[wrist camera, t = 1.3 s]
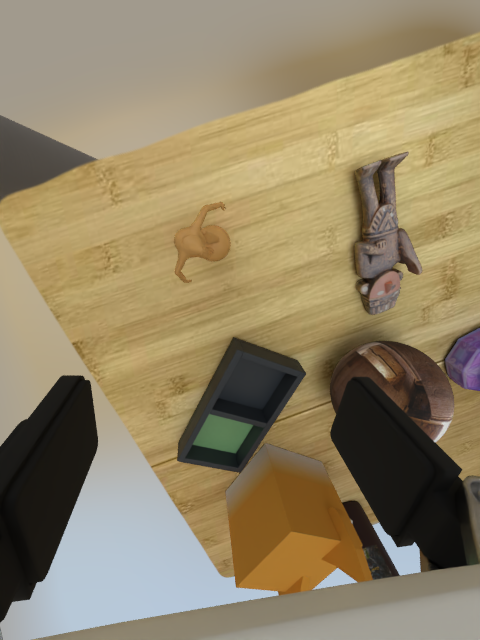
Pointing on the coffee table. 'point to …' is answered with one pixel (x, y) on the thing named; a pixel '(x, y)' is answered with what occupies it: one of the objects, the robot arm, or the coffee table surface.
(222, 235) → the figurine
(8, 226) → the coffee table surface
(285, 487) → the fox head
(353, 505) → the wine bottle
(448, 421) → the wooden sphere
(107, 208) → the coffee table surface
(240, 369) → the tray
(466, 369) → the lantern
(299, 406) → the coffee table surface
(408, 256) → the figurine
